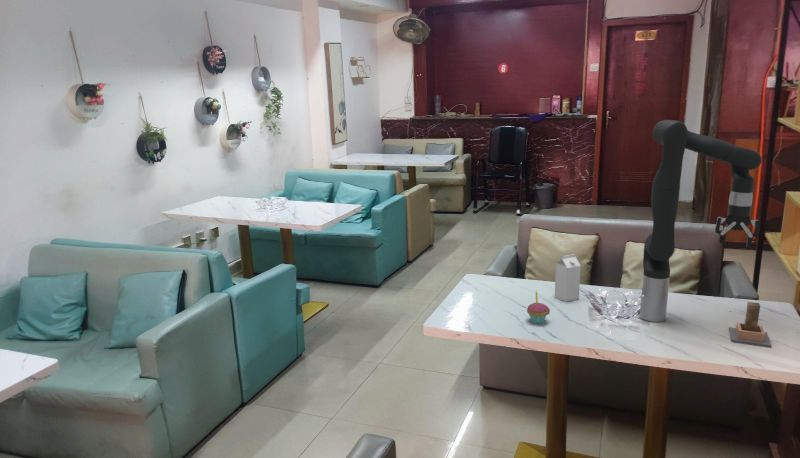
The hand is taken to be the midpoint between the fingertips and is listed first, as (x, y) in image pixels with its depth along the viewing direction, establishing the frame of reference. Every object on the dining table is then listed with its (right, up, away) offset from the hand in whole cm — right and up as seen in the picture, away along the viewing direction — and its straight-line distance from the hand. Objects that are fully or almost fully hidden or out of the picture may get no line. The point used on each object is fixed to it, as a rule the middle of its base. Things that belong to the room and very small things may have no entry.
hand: (734, 245), depth 227 cm
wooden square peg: (-3, -32, -14) cm, 35 cm away
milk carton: (-56, -23, +27) cm, 67 cm away
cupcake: (-74, -29, +4) cm, 79 cm away
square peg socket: (-3, -32, -14) cm, 36 cm away
